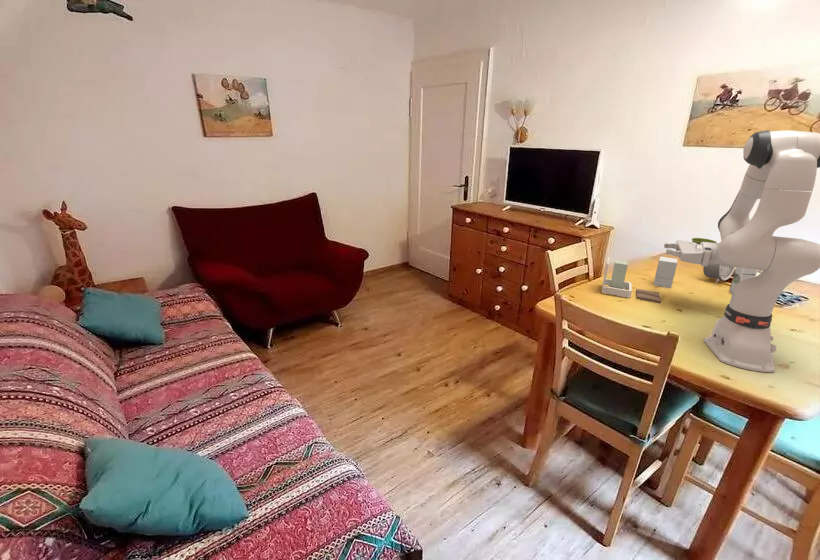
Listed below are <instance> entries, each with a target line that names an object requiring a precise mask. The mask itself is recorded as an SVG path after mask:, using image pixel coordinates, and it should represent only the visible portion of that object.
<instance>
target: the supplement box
mask: <svg viewBox="0 0 820 560" xmlns="http://www.w3.org/2000/svg"><path fill="white" fill-rule="evenodd" d="M677 267H678V258H671V257H667V256H659V259H658V264H657V268H656V273H655V276H654V279H653V280H654V281H653V286H656V287H661V288H666V289H667V288H668V289H671V288H672V286H673V283H674V282H673V281H674V278H675V274H676V270H677Z"/></svg>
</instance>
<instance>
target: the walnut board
mask: <svg viewBox="0 0 820 560" xmlns="http://www.w3.org/2000/svg"><path fill="white" fill-rule="evenodd" d="M635 293H636V294H635V295H637V297H636V300H637V299H640V300H639V301H643V300H645V301H644V302H650V303H651V302H652V303H655V304H656V303H657V304H661V303H662V299H661V295H660V292H659V291H653V290H647V289H639V288H636V290H635Z"/></svg>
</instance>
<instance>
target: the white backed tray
mask: <svg viewBox="0 0 820 560" xmlns="http://www.w3.org/2000/svg"><path fill="white" fill-rule="evenodd" d="M609 265H610V257H609V256H608V257H607V259H606V265H605V269H604V274H603V281H602V285H601V286H602V287H601V292H602V293H605V294H604V295H606V294H611V295H610V296H612V295H617V296H616V297H619V296H622V297H621V298H625V297H627V298H626V299H630V298H631V297H632V292H633V289H632V288H633V284H632V282H629V281H625V280H624V285H623V289H619V288H613V287H607V286H604V285H608V286H610V283H611V278H607V274H608V269H609ZM626 289H628V290H626Z"/></svg>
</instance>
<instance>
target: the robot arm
mask: <svg viewBox="0 0 820 560" xmlns="http://www.w3.org/2000/svg"><path fill="white" fill-rule="evenodd" d="M742 154H743V160H744V162H746V163H747V164H749V165H748V167H747V168H746V169H747V170H746V172H745V174H744V176H743V179H742V182H741V184H740V189H739V191H738V192H737V194H736V197H735V198H734V200H733V203H732V204H731V207H730V208H729V209H728V210H727V212H725V214H723V216H721V218H720V219H719V220H718V222H717V228H718V230H719V235H720V238H721V239H720V240H721V241H720V242H717V243H710V242H701V243H700V245H699V244H697V243H694V242H692V241H689V240H687V241H686V240H676V241H675V242H673V243H664V244H663V248H664V249H666V251H665V254H666V255H669V256H674V257H678V258H679V261H681V262H683V263H688V264H693V265H694V264H695V265H700V266H701V267H704V266H708V265H722V266H726V267H735V269H736V268H748V269H755V270H757V271H762V272H761V273H760V274H758V275H756V277H753V278H749V279H745V280H742V281H740V282H739V283H737V284H736V285H735V287H734V290H733V293H731V297H730V300H729V303H728V304H727V305H726V307H725V309H724V313H723V316H722V317H720V318H719V319H717V320H716V322H714V323H715V324H714V326H713V329H712V332H711V333H710V336H706V337H704V339H703V342H704V343H705V344H706V346H708V348H709V349H710V350H711V352H712V353H713V354H714V355H715V356H716V357H717V359H719V361H720V362H722V363H724V364H727V365H729V366H732V367H736V368H740V369H745V370H750V371H754V372H761V373H762V372H763V373H774V372H775V363H774V362H775V361H774V355H773V353H776V350H777V344H772V342H771V341H774V336H771V330H772V329H771V324H772V321H773V319H772V318H773V314H772V313H773V310H774V307H775V305H776V303H777V300H778V299H779V297H780V295H781V294H782V292H783V291H784V290H785V289H786V288H787V287H788V286H790V285H791V284H792V283H793V282H795V281H797V280H799V279H800V278H803V277H805V276H807V275H808V276H809V275H811V274H814V273H815V272H817V271H818V270H820V244H819V242H818V243H817V242H815V241H810V240H807V239H803V238H795V237H785V236H775V235H774V233H775V232H776V230H778V229H779V228H781V227H784V226H788V225H792V224H795V223H798V222H799V221H801V220H802V219H803V218H804V217H805V216H806V213H807V210H808V207H809V204H810V201H811V198H812V194H813V191H814V187H815V185H816V184H815V183H816V177H817V173H818V172H817V171H818V168H820V132H816V131H814V132H813V131H802V130H796V129H795V130H794V129H793V130H791V129H788V130H786V129H785V130H761V131H757V132H754V133H753V134H751V135H750V136H749V137H748V139H747V141H746V142H745V144H744V146H743V153H742ZM758 200H759V203H758V205H757V208H756V210H755V212H754V214H753V216H752V217H751V218H750V213H751V212H752V210H753V208H754V206H755V204H756V202H757V201H758ZM672 249H674V250H672Z"/></svg>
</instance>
